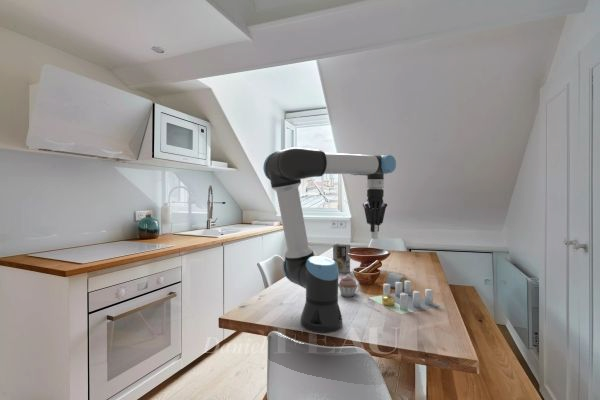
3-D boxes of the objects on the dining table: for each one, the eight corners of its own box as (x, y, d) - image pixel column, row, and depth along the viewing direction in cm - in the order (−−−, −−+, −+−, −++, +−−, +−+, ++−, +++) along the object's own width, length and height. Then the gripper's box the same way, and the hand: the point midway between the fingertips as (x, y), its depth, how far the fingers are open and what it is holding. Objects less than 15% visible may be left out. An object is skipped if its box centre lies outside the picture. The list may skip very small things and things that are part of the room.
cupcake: (342, 290, 146) (342, 270, 146) (360, 294, 141) (360, 273, 141) (334, 296, 138) (334, 274, 138) (353, 300, 133) (353, 277, 133)
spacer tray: (400, 316, 116) (400, 298, 115) (368, 299, 134) (368, 284, 134) (440, 308, 125) (441, 291, 125) (405, 293, 143) (405, 279, 143)
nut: (387, 307, 123) (387, 299, 122) (379, 303, 127) (379, 296, 127) (397, 305, 125) (397, 298, 124) (389, 301, 129) (389, 294, 129)
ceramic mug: (399, 292, 144) (400, 276, 144) (385, 288, 151) (386, 273, 150) (412, 289, 150) (412, 274, 150) (398, 285, 157) (398, 270, 157)
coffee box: (350, 271, 183) (350, 245, 183) (346, 273, 178) (346, 246, 178) (336, 269, 188) (337, 243, 188) (332, 271, 183) (332, 245, 182)
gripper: (369, 188, 134) (368, 240, 135) (391, 188, 139) (390, 239, 140) (359, 188, 141) (358, 238, 141) (381, 189, 146) (380, 237, 147)
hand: (374, 238), depth 141 cm, fingers closed
